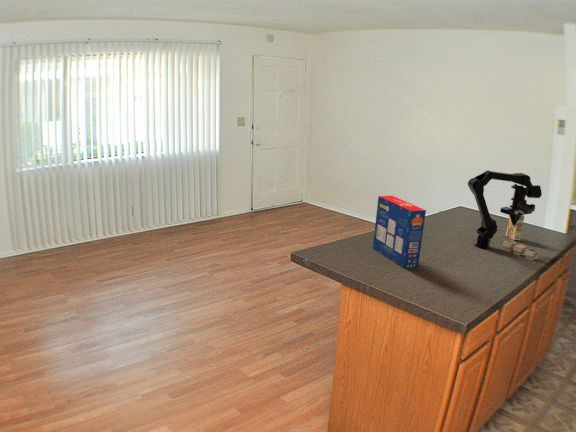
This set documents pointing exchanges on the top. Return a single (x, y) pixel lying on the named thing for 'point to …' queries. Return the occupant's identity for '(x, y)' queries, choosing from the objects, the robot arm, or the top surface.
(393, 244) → the blue toy box
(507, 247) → the two mark block
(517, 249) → the plain block
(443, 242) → the top surface
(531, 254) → the three mark block
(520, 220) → the candy box
